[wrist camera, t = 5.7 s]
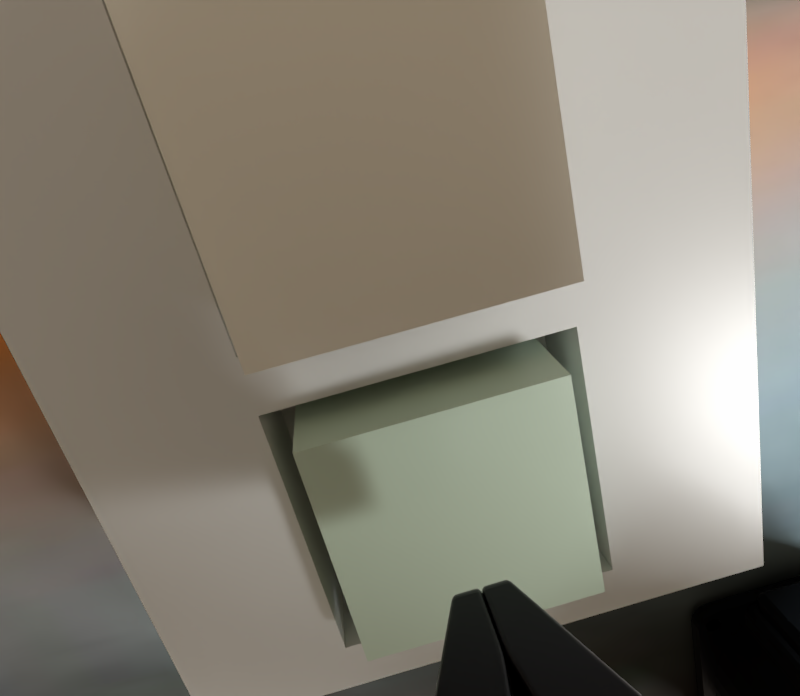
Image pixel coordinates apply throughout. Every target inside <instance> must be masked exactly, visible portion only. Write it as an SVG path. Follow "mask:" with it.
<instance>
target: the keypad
mask: <svg viewBox="0 0 800 696" xmlns="http://www.w3.org/2000/svg"><path fill="white" fill-rule="evenodd" d="M545 3H546V10H547V17H548V24H549V32H550V39H551V46H552V53H553V60H554V68H555V75H556V82H557V89H558V96H559V103H560V111H561V118H562V125H563V132H564V139H565V147H566V154H567V161H568V168H569V175H570V183H571V190H572V197H573V204H574V211H575V218H576V226H577V233H578V240H579V247H580V254H581V262H582V269H583V276H584V281H583V282H579V283H575V284H572V285H568V286H565V287H561V288H557V289H554V290H550V291H547V292H543V293H539V294H536V295H532V296H529V297H525V298H521V299H518V300H514V301H511V302H507V303H503V304H500V305H496V306H493V307H489V308H486V309H482V310H478V311H475V312H471V313H468V314H464V315H460V316H457V317H453V318H450V319H446V320H442V321H439V322H435V323H432V324H428V325H424V326H421V327H417V328H414V329H410V330H406V331H403V332H399V333H396V334H392V335H388V336H385V337H381V338H378V339H374V340H370V341H367V342H363V343H360V344H356V345H352V346H349V347H345V348H342V349H338V350H335V351H331V352H327V353H324V354H320V355H317V356H313V357H309V358H306V359H302V360H299V361H295V362H291V363H288V364H284V365H281V366H277V367H273V368H270V369H266V370H263V371H259V372H255V373H252V374H248V375H244V372H243V369H242V367H241V364H240V361H239V359H238V356H237V353H236V351H235V348H234V345H233V343H232V340H231V337H230V335H229V332H228V329H227V327H226V324H225V321H224V319H223V316H222V313H221V311H220V308H219V305H218V303H217V300H216V297H215V295H214V292H213V289H212V287H211V284H210V281H209V279H208V276H207V273H206V271H205V268H204V265H203V263H202V260H201V257H200V255H199V252H198V249H197V247H196V244H195V241H194V239H193V236H192V233H191V231H190V228H189V225H188V223H187V220H186V217H185V215H184V212H183V209H182V207H181V204H180V201H179V199H178V196H177V193H176V191H175V188H174V185H173V183H172V180H171V177H170V175H169V172H168V169H167V167H166V164H165V161H164V159H163V156H162V153H161V151H160V148H159V145H158V143H157V140H156V137H155V135H154V132H153V129H152V127H151V124H150V121H149V119H148V116H147V113H146V111H145V108H144V105H143V103H142V100H141V97H140V95H139V92H138V89H137V87H136V84H135V81H134V79H133V76H132V73H131V71H130V68H129V65H128V63H127V60H126V57H125V55H124V52H123V49H122V47H121V44H120V41H119V39H118V36H117V33H116V31H115V28H114V26H113V23H112V20H111V18H110V15H109V12H108V10H107V7H106V4H105V2H104V0H0V333H1V335H2V337H3V338H4V340H5V342H6V344H7V346H8V348H9V350H10V352H11V354H12V356H13V358H14V359H15V361H16V363H17V365H18V367H19V369H20V371H21V373H22V375H23V377H24V379H25V380H26V382H27V384H28V386H29V388H30V390H31V392H32V394H33V396H34V398H35V400H36V401H37V403H38V405H39V407H40V409H41V411H42V413H43V415H44V417H45V419H46V421H47V422H48V424H49V426H50V428H51V430H52V432H53V434H54V436H55V438H56V440H57V442H58V443H59V445H60V447H61V449H62V451H63V453H64V455H65V457H66V459H67V461H68V462H69V464H70V466H71V468H72V470H73V472H74V474H75V476H76V478H77V480H78V482H79V483H80V485H81V487H82V489H83V491H84V493H85V495H86V497H87V499H88V501H89V503H90V504H91V506H92V508H93V510H94V512H95V514H96V516H97V518H98V520H99V522H100V524H101V525H102V527H103V529H104V531H105V533H106V535H107V537H108V539H109V541H110V543H111V545H112V546H113V548H114V550H115V552H116V554H117V556H118V558H119V560H120V562H121V564H122V566H123V567H124V569H125V571H126V573H127V575H128V577H129V579H130V581H131V583H132V585H133V587H134V588H135V590H136V592H137V594H138V596H139V598H140V600H141V602H142V604H143V606H144V607H145V609H146V611H147V613H148V615H149V617H150V619H151V621H152V623H153V625H154V627H155V628H156V630H157V632H158V634H159V636H160V638H161V640H162V642H163V644H164V646H165V648H166V649H167V651H168V653H169V655H170V657H171V659H172V661H173V663H174V665H175V667H176V669H177V670H178V672H179V674H180V676H181V678H182V680H183V682H184V684H185V686H186V688H187V690H188V691H189V693H190V695H191V696H323V695H326V694H330V693H333V692H337V691H340V690H343V689H347V688H350V687H354V686H357V685H360V684H364V683H367V682H371V681H374V680H377V679H381V678H384V677H387V676H391V675H394V674H398V673H401V672H404V671H408V670H411V669H415V668H418V667H421V666H425V665H428V664H432V663H435V662H438V661H441V657H442V651H443V646H444V640H445V639H443V640H439V641H436V642H433V643H429V644H426V645H422V646H419V647H415V648H412V649H409V650H405V651H402V652H398V653H395V654H392V655H388V656H385V657H381V658H378V659H375V660H371V661H367V658H366V655H365V652H364V650H363V647H362V644H361V641H360V639H359V636H358V633H357V630H356V627H355V625H354V622H353V619H352V616H351V614H350V611H349V608H348V605H347V603H346V600H345V597H344V594H343V592H342V589H341V586H340V583H339V581H338V578H337V575H336V572H335V570H334V567H333V564H332V561H331V559H330V556H329V553H328V550H327V547H326V545H325V542H324V539H323V536H322V534H321V531H320V528H319V525H318V523H317V520H316V517H315V514H314V512H313V509H312V506H311V503H310V501H309V498H308V495H307V492H306V490H305V487H304V484H303V481H302V478H301V476H300V473H299V470H298V467H297V465H296V462H295V459H294V456H293V454H292V453H293V438H294V424H295V409H296V405H299V404H303V403H306V402H310V401H313V400H317V399H320V398H324V397H328V396H331V395H335V394H338V393H342V392H345V391H349V390H353V389H356V388H360V387H363V386H367V385H370V384H374V383H378V382H381V381H385V380H388V379H392V378H395V377H399V376H403V375H406V374H410V373H413V372H417V371H420V370H424V369H427V368H431V367H435V366H438V365H442V364H445V363H449V362H452V361H456V360H460V359H463V358H467V357H470V356H474V355H477V354H481V353H485V352H488V351H492V350H495V349H499V348H502V347H506V346H510V345H513V344H517V343H520V342H524V341H527V340H531V339H535V338H536V339H537V340H538V341H539V343H540V344H541V345H542V346H543V347H544V348H545V349H546V350H547V351H548V352H549V353H550V354H551V355H552V356H553V357H554V358H555V359H556V360H557V361H558V362H559V363H560V364H561V365H562V366H563V367H564V368H565V369H566V370H567V371H568V372H569V373H570V374H571V377H572V384H573V390H574V397H575V403H576V409H577V416H578V422H579V429H580V435H581V441H582V448H583V454H584V460H585V467H586V473H587V480H588V486H589V492H590V499H591V505H592V512H593V518H594V524H595V531H596V537H597V543H598V550H599V556H600V563H601V569H602V575H603V582H604V588H605V592H603V593H599V594H596V595H593V596H589V597H586V598H582V599H579V600H576V601H572V602H569V603H565V604H562V605H558V606H555V607H552V608H548V609H545V610H544V611H546V612H547V613H548V614H549V615H550V616H551V617H553V618H554V619H555V620H556V621H557V622H558V623H559V624H561V625H564V624H567V623H571V622H574V621H577V620H581V619H584V618H588V617H591V616H594V615H598V614H601V613H605V612H608V611H611V610H615V609H618V608H622V607H625V606H628V605H632V604H635V603H639V602H642V601H645V600H649V599H652V598H655V597H659V596H662V595H666V594H669V593H672V592H676V591H679V590H683V589H686V588H689V587H693V586H696V585H700V584H703V583H706V582H710V581H713V580H717V579H720V578H723V577H727V576H730V575H734V574H737V573H740V572H744V571H747V570H750V569H754V568H757V567H761V566H764V560H763V529H762V497H761V466H760V434H759V403H758V371H757V340H756V308H755V276H754V245H753V213H752V182H751V150H750V119H749V87H748V56H747V24H746V0H545Z"/></svg>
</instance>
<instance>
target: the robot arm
mask: <svg viewBox="0 0 800 696" xmlns="http://www.w3.org/2000/svg"><path fill="white" fill-rule="evenodd" d="M691 622H692V633H693V644H694V655H695V666H696V677H697V688H698V696H800V576H799V577H796V578H793V579H789V580H786V581H782V582H779V583H776V584H772V585H769V586H765V587H762V588H759V589H755V590H752V591H749V592H745V593H742V594H738V595H735V596H732V597H728V598H725V599H722V600H718V601H715V602H711V603H708V604H705V605H703V606H700V607H699V608H698V609H697V610H695V612H694V613H693V615H692V619H691ZM435 696H642V695H641V694H640V693H639V692H638V691H636V690H635V689H634V688H633V687H632V686H631V685H630V684H628V683H627V682H626V681H625V680H624V679H623V678H622V677H620V676H619V675H618V674H617V673H616V672H615V671H613V670H612V669H611V668H610V667H609V666H608V665H607V664H605V663H604V662H603V661H602V660H601V659H600V658H599V657H597V656H596V655H595V654H594V653H593V652H592V651H590V650H589V649H588V648H587V647H586V646H585V645H584V644H582V643H581V642H580V641H579V640H578V639H577V638H576V637H574V636H573V635H572V634H571V633H570V632H569V631H567V630H566V629H565V628H564V627H563V626H562V625H561V624H559V623H558V622H557V621H556V620H555V619H554V618H553V617H551V616H550V615H549V614H548V613H547V612H546V611H544V610H543V609H542V608H541V607H540V606H539V605H538V604H536V603H535V602H534V601H533V600H532V599H531V598H530V597H528V596H527V595H526V594H525V593H524V592H523V591H521V590H520V589H519V588H518V587H517V586H516V585H515V584H513V583H512V582H511V581H509V580H503V581H500V582H496V583H493V584H490V585H486V586H484V587H483V589H482V592H481V591H480V590H479V589H473V590H469V591H466V592H462V593H459V594H456V595H454V596H453V598H452V601H451V606H450V612H449V617H448V623H447V629H446V634H445V640H444V646H443V651H442V657H441V663H440V668H439V674H438V680H437V685H436V691H435Z"/></svg>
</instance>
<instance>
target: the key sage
mask: <svg viewBox="0 0 800 696" xmlns="http://www.w3.org/2000/svg"><path fill="white" fill-rule="evenodd" d="M292 454H293V456H294V459H295V462H296V465H297V467H298V470H299V473H300V476H301V478H302V481H303V484H304V487H305V490H306V492H307V495H308V498H309V501H310V503H311V506H312V509H313V512H314V514H315V517H316V520H317V523H318V525H319V528H320V531H321V534H322V536H323V539H324V542H325V545H326V547H327V550H328V553H329V556H330V559H331V561H332V564H333V567H334V570H335V572H336V575H337V578H338V581H339V583H340V586H341V589H342V592H343V594H344V597H345V600H346V603H347V605H348V608H349V611H350V614H351V616H352V619H353V622H354V625H355V627H356V630H357V633H358V636H359V639H360V641H361V644H362V647H363V650H364V652H365V655H366V658H367V661H371V660H375V659H378V658H381V657H385V656H388V655H392V654H395V653H398V652H402V651H405V650H409V649H412V648H415V647H419V646H422V645H426V644H429V643H433V642H436V641H439V640H443V639H445V634H446V629H447V623H448V617H449V612H450V606H451V601H452V598H453V596H454V595H456V594H459V593H462V592H466V591H469V590H473V589H479V590H480V591H481V592H482V589H483V587H484V586H486V585H490V584H493V583H496V582H500V581H503V580H509V581H511V582H512V583H513V584H515V585H516V586H517V587H518V588H519V589H520V590H521V591H523V592H524V593H525V594H526V595H527V596H528V597H530V598H531V599H532V600H533V601H534V602H535V603H536V604H538V605H539V606H540V607H541V608H542V609H543V610H545V609H548V608H552V607H555V606H558V605H562V604H565V603H569V602H572V601H576V600H579V599H582V598H586V597H589V596H593V595H596V594H599V593H603V592H605V588H604V582H603V575H602V569H601V563H600V556H599V550H598V543H597V537H596V531H595V524H594V518H593V512H592V505H591V499H590V492H589V486H588V480H587V473H586V467H585V460H584V454H583V448H582V441H581V435H580V429H579V422H578V416H577V409H576V403H575V397H574V390H573V384H572V377H571V374H570V373H569V372H568V371H567V370H566V369H565V368H564V367H563V366H562V365H561V364H560V363H559V362H558V361H557V360H556V359H555V358H554V357H553V356H552V355H551V354H550V353H549V352H548V351H547V350H546V349H545V348H544V347H543V346H542V345H541V344H540V343H539V341H538V340H537V339H536V338H535V339H531V340H527V341H524V342H520V343H517V344H513V345H510V346H506V347H502V348H499V349H495V350H492V351H488V352H485V353H481V354H477V355H474V356H470V357H467V358H463V359H460V360H456V361H452V362H449V363H445V364H442V365H438V366H435V367H431V368H427V369H424V370H420V371H417V372H413V373H410V374H406V375H403V376H399V377H395V378H392V379H388V380H385V381H381V382H378V383H374V384H370V385H367V386H363V387H360V388H356V389H353V390H349V391H345V392H342V393H338V394H335V395H331V396H328V397H324V398H320V399H317V400H313V401H310V402H306V403H303V404H299V405H296V409H295V424H294V438H293V453H292Z"/></svg>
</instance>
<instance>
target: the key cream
mask: <svg viewBox="0 0 800 696" xmlns="http://www.w3.org/2000/svg"><path fill="white" fill-rule="evenodd" d="M104 2H105V4H106V7H107V10H108V12H109V15H110V18H111V20H112V23H113V26H114V28H115V31H116V33H117V36H118V39H119V41H120V44H121V47H122V49H123V52H124V55H125V57H126V60H127V63H128V65H129V68H130V71H131V73H132V76H133V79H134V81H135V84H136V87H137V89H138V92H139V95H140V97H141V100H142V103H143V105H144V108H145V111H146V113H147V116H148V119H149V121H150V124H151V127H152V129H153V132H154V135H155V137H156V140H157V143H158V145H159V148H160V151H161V153H162V156H163V159H164V161H165V164H166V167H167V169H168V172H169V175H170V177H171V180H172V183H173V185H174V188H175V191H176V193H177V196H178V199H179V201H180V204H181V207H182V209H183V212H184V215H185V217H186V220H187V223H188V225H189V228H190V231H191V233H192V236H193V239H194V241H195V244H196V247H197V249H198V252H199V255H200V257H201V260H202V263H203V265H204V268H205V271H206V273H207V276H208V279H209V281H210V284H211V287H212V289H213V292H214V295H215V297H216V300H217V303H218V305H219V308H220V311H221V313H222V316H223V319H224V321H225V324H226V327H227V329H228V332H229V335H230V337H231V340H232V343H233V345H234V348H235V351H236V353H237V356H238V359H239V361H240V364H241V367H242V369H243V372H244V375H248V374H252V373H255V372H259V371H263V370H266V369H270V368H273V367H277V366H281V365H284V364H288V363H291V362H295V361H299V360H302V359H306V358H309V357H313V356H317V355H320V354H324V353H327V352H331V351H335V350H338V349H342V348H345V347H349V346H352V345H356V344H360V343H363V342H367V341H370V340H374V339H378V338H381V337H385V336H388V335H392V334H396V333H399V332H403V331H406V330H410V329H414V328H417V327H421V326H424V325H428V324H432V323H435V322H439V321H442V320H446V319H450V318H453V317H457V316H460V315H464V314H468V313H471V312H475V311H478V310H482V309H486V308H489V307H493V306H496V305H500V304H503V303H507V302H511V301H514V300H518V299H521V298H525V297H529V296H532V295H536V294H539V293H543V292H547V291H550V290H554V289H557V288H561V287H565V286H568V285H572V284H575V283H579V282H583V281H584V276H583V269H582V262H581V254H580V247H579V240H578V233H577V226H576V218H575V211H574V204H573V197H572V190H571V183H570V175H569V168H568V161H567V154H566V147H565V139H564V132H563V125H562V118H561V111H560V103H559V96H558V89H557V82H556V75H555V68H554V60H553V53H552V46H551V39H550V32H549V24H548V17H547V10H546V3H545V0H104Z"/></svg>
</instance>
